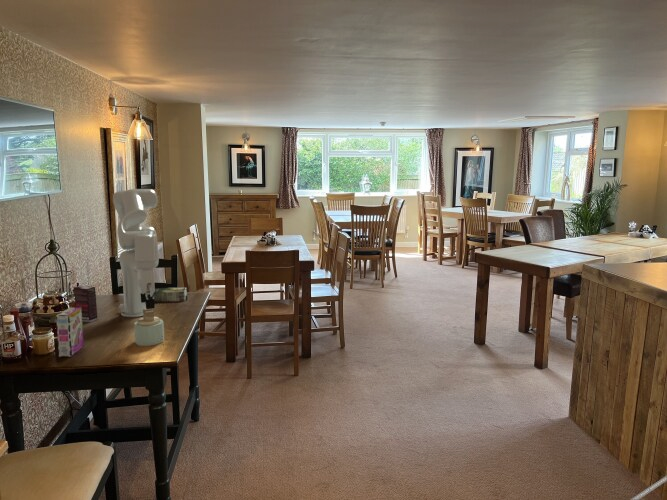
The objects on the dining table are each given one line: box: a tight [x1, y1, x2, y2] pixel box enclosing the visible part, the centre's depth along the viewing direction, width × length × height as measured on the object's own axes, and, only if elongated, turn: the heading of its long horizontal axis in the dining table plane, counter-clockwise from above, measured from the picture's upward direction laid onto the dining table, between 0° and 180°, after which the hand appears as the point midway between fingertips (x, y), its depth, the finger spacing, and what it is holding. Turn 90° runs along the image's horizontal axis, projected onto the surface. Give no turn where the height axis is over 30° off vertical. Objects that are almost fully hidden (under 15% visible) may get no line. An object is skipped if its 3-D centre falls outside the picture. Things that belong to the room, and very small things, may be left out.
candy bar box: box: [55, 306, 85, 358], centre depth 185 cm, size 11×5×16 cm, turn 5°
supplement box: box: [73, 285, 98, 323], centre depth 224 cm, size 9×5×16 cm, turn 71°
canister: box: [133, 318, 165, 347], centre depth 198 cm, size 11×11×8 cm
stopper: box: [137, 308, 161, 326], centre depth 197 cm, size 8×8×8 cm
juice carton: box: [148, 287, 189, 303], centre depth 262 cm, size 20×10×6 cm, turn 103°
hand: (147, 305), depth 197 cm, fingers open, 9 cm apart
